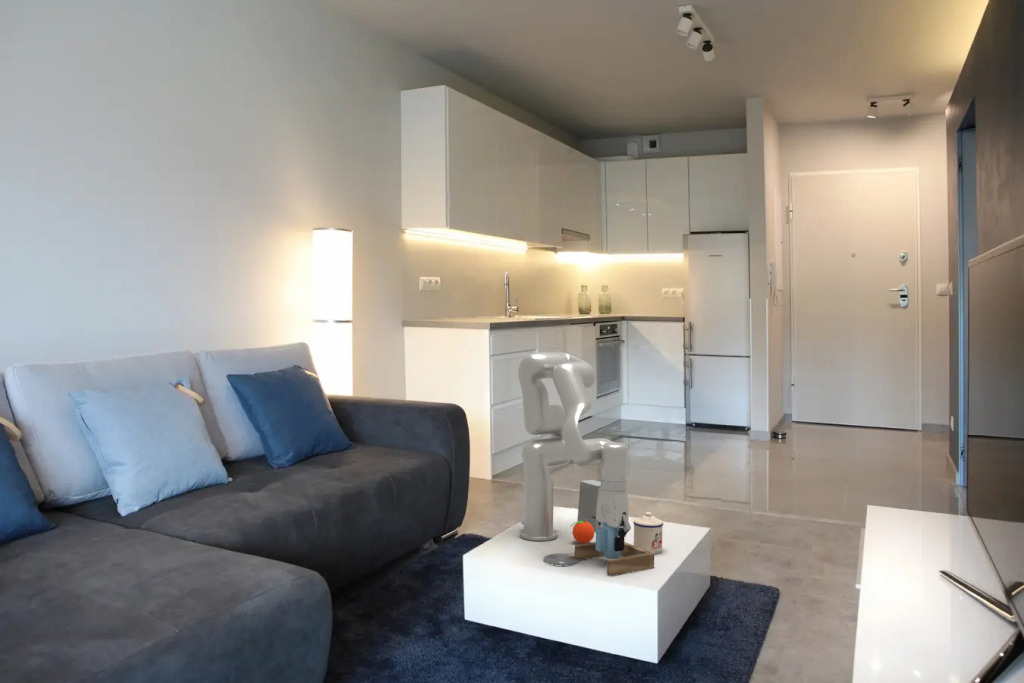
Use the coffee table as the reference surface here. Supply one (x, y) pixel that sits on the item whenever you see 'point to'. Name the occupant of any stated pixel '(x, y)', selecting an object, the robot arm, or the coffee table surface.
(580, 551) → the open wooden frame
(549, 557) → the coaster
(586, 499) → the skincare box
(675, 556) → the coffee table surface
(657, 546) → the teacup with lid
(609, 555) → the jug
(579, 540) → the clementine
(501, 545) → the coffee table surface
